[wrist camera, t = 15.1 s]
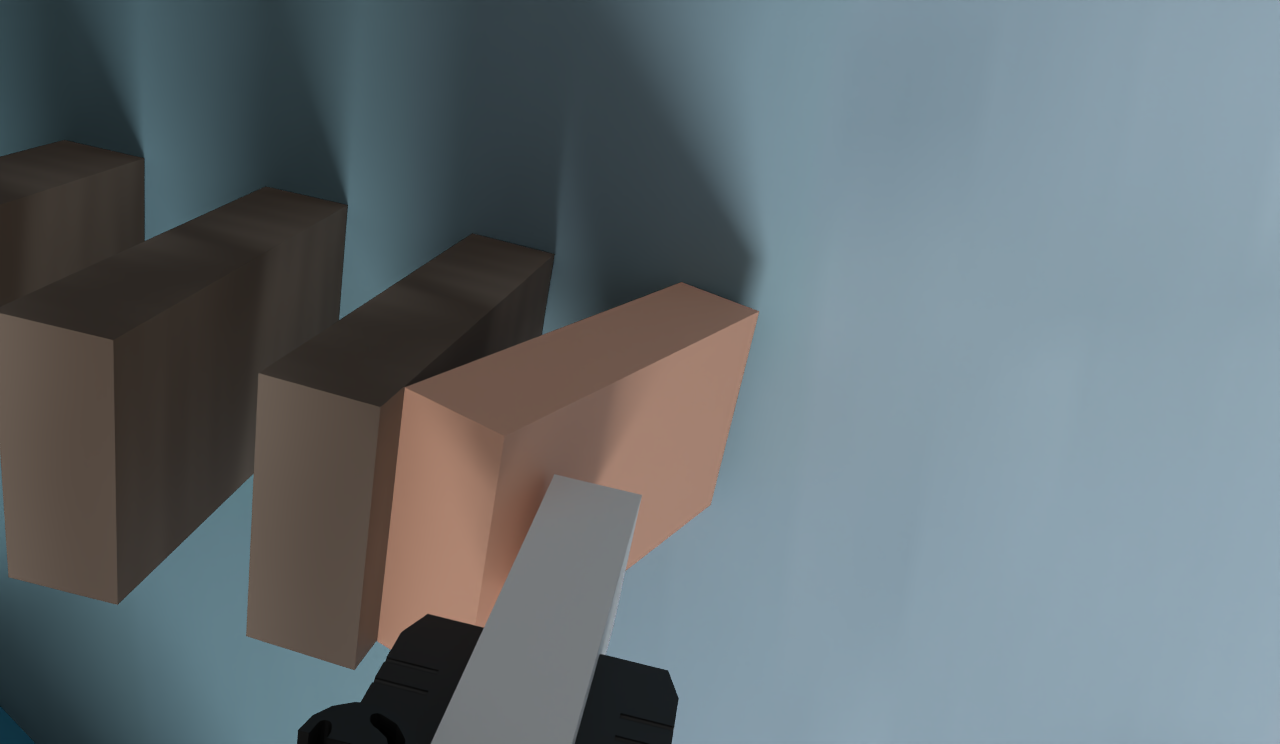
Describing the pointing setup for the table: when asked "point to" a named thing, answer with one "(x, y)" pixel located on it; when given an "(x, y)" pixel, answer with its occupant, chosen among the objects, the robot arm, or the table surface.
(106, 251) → the tile
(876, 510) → the table surface
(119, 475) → the tile
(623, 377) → the tile
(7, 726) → the camera mount
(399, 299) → the tile
